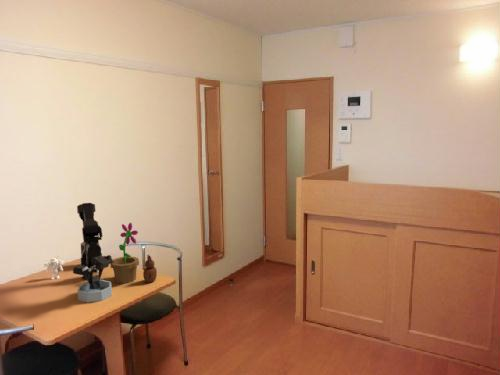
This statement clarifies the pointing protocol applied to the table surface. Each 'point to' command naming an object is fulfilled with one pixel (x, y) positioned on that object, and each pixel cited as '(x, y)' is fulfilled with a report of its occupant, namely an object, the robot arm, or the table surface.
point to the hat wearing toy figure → (54, 267)
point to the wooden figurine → (149, 270)
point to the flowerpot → (126, 259)
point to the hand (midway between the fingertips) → (94, 282)
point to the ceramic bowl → (94, 292)
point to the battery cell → (95, 279)
